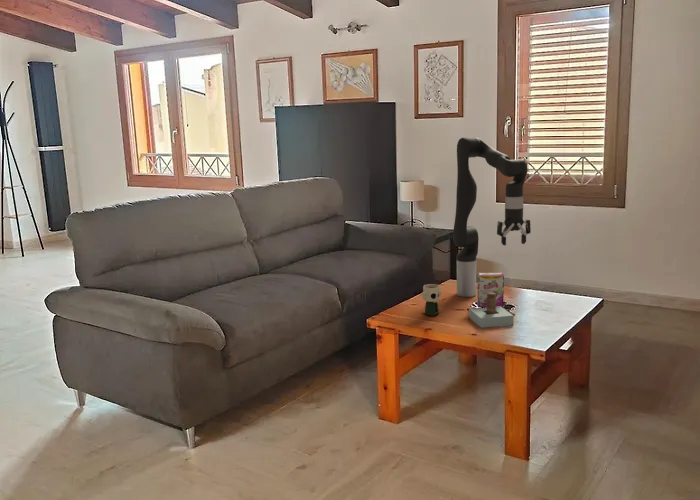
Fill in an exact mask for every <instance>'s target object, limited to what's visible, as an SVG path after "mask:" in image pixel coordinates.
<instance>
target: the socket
mask: <svg viewBox="0 0 700 500" xmlns="http://www.w3.org/2000/svg"><path fill="white" fill-rule="evenodd" d="M468 309H469V311H468V312H469V314H468V315H469V317H468V318H469V319H470V320H471V321H473V323H475V324H476V325H477V326H478V327H480V328H483V329H485V328H491V327H493V328H494V327H505V326H513V325H514V316H515V315H513V314H512V313H511V312H510V311H508V310H506V309H505V308H504V307H503V308H502V307H501V306H497V307H496V314H487V307H485V308H477V307H476V308H468Z"/></svg>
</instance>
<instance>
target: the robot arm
mask: <svg viewBox="0 0 700 500" xmlns="http://www.w3.org/2000/svg"><path fill="white" fill-rule="evenodd" d="M456 144H457V145H456V161H457V164H456V165H457V168H456V169H457V174H456V175H457V177H456V178H457V179H456V181H457V183H456V197H455V199H456V200H455V201H456V203H455V214H454V215H455V217H454V223H453V224H454V225H453V230H452V239H453V240H452V241H453V243H454V245H455V246H456V247H457V248H462V249H461V250H460V251H459V252H458V253H457V254H456V296H458V297H460V298H461V297H463V298H471V297H475V296H477V256H478V252H479V232H478V230H477V228H476V227H474V226H471V225H469V226H468V220H469V216H470V215H471V212H472V210H473V209H474V207H475V204H476V202H477V194H478V193H477V192H478V191H477V190H478V188H477V183H476V181H475V179H474V176H473V175H472V173H471V170H470V164H469V162H470V160H469V159H470V158H477V157H479V158H482V159H485V161H486V163H487V165H489V166H490V167H492V168H494V169H496V170H498V171H499V172H500V173H501V174H502V175H503V176H505V177H507V178H512V180H511V181H509V182H508V183H506V185H505V201H504V221H499V220H498V221H497V225H496V227H497V229H496V235H498V236H500V238H501V239H500V240H501V245H502V246H506V245H507V237H506V236H507V235H508V233H509V232H510V231H511V232H514V231H515V232H517V231H519V232H520V233H521V236H520V238H521V240H520V241H521V242H520V243H521V244H522V245H525V244H526V243H527V235H529V234H531V219H524V184H525V181H526V176H527V173H528V165H527V162H526V161H525V160H524V159H518V158H517V159H511V158H510V156H508V155H507V154H505V153H502V152H500V151H498V150H497V149H495V148H493V147H492V146H490V145H489V144H487V143H486V142H485V141H483V140H482V139H481V138H480V137H478V136H477V137H476V136H470V137H469V136H467V137H460V138H459V140H458V141H457V143H456ZM523 225H524V226H525V227H523ZM503 226H505V227H504V228H503ZM524 228H525V229H524Z"/></svg>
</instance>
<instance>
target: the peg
mask: <svg viewBox="0 0 700 500" xmlns="http://www.w3.org/2000/svg"><path fill="white" fill-rule="evenodd" d="M487 314H496V293H487Z"/></svg>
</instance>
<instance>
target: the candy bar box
mask: <svg viewBox="0 0 700 500" xmlns="http://www.w3.org/2000/svg"><path fill="white" fill-rule="evenodd" d="M504 283H505V275H504V274H503V272H478V273H477V295H476V296H477V303H476V305H478V307H487V293H496V307H497V306H501V307H502V308H504V298H505V297H504V296H505V295H504V290H505V289H504Z"/></svg>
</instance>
